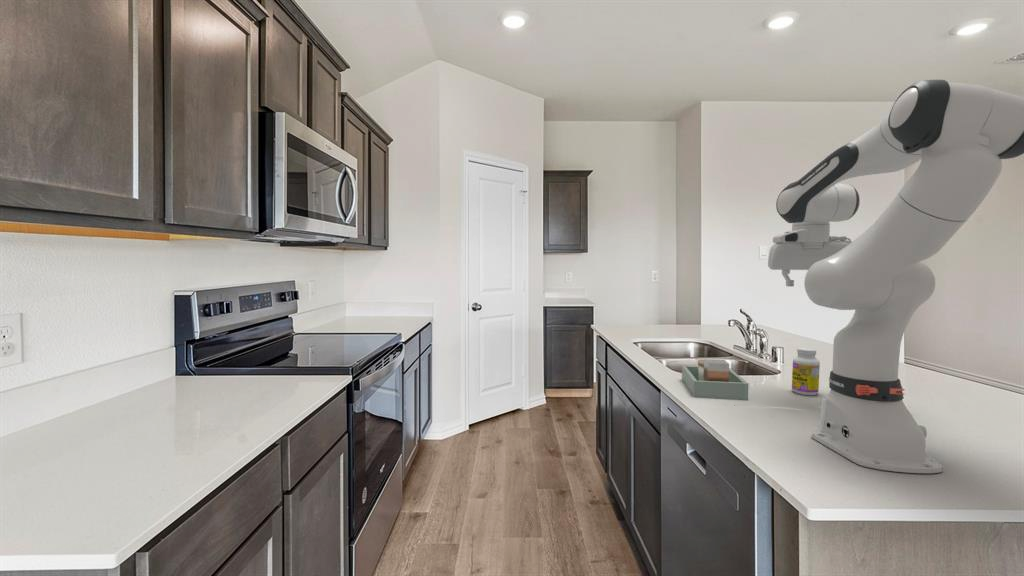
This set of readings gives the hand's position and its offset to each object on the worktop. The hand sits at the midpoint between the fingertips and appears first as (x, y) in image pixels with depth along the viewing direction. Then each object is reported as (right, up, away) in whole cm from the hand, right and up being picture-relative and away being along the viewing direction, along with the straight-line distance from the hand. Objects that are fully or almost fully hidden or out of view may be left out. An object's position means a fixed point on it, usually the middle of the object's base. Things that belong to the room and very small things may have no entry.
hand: (808, 286), depth 131 cm
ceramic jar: (-22, -30, +13) cm, 39 cm away
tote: (-23, -31, +8) cm, 39 cm away
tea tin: (-24, -30, +4) cm, 39 cm away
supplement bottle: (+3, -31, +6) cm, 32 cm away
